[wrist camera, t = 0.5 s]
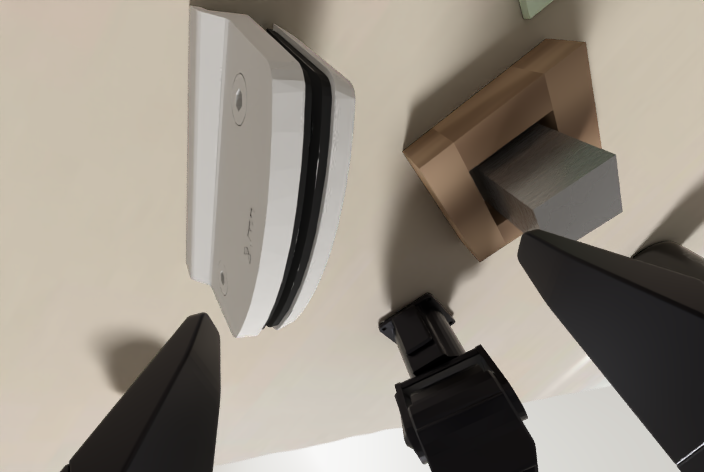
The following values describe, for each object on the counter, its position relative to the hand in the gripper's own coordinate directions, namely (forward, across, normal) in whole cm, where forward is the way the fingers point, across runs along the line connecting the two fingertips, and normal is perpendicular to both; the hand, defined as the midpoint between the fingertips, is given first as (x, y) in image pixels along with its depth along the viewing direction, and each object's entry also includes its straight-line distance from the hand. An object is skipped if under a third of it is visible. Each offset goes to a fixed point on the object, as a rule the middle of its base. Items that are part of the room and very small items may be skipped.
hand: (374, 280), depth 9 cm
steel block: (+14, -13, +4) cm, 20 cm away
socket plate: (+14, -13, +4) cm, 20 cm away
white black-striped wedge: (+14, +4, +2) cm, 15 cm away
